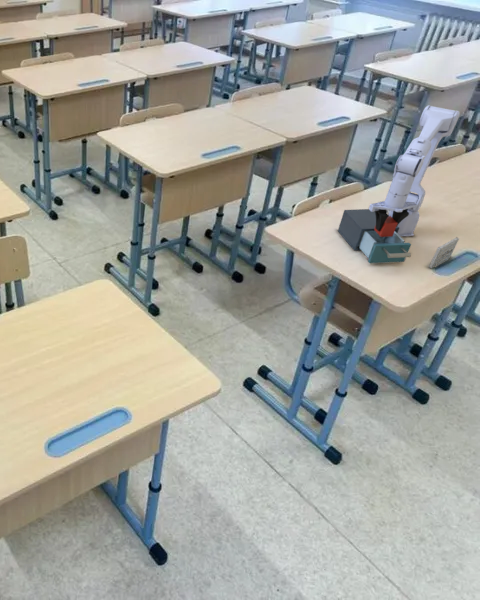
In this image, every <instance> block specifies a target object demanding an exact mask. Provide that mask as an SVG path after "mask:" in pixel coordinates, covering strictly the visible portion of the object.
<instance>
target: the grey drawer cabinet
mask: <svg viewBox="0 0 480 600" xmlns="http://www.w3.org/2000/svg"><path fill="white" fill-rule="evenodd" d="M375 226H376V215H375V211H374V212H371V211H370V210H369V208H362V209H359V208H358V209H357V208H356V209H344V210H343V212H342V215H341V219H340V223H339V225H338V229H337V232H338V233H339V234H340V236H342V238H343V239H344V241H346V242H347V244H348V245H349V247H351V248H352V250H353V251H354V252H355V251H356V252H357V251H358V252H359V251H362V250H361V249H360V248H359V247H358V245H359V242H360V239H361V237H362V234H363V231H375V230H374V229H375ZM398 230H399V227H398V226H397V227H396V229H395V232H396V233H398Z"/></svg>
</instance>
